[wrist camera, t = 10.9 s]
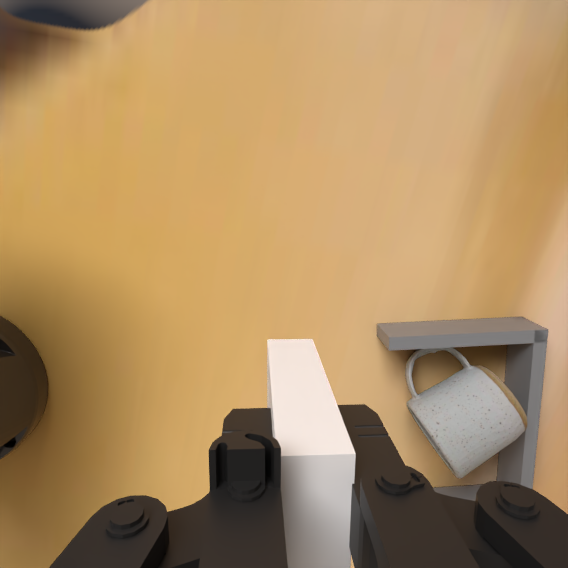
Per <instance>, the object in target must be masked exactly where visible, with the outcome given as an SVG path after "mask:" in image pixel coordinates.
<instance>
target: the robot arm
mask: <svg viewBox="0 0 568 568" xmlns="http://www.w3.org/2000/svg"><path fill="white" fill-rule="evenodd" d="M47 396H48V383H47V376H46V371H45V368H44V365H43V362H42V360H41V358H40V356H39V354H38V352H37V350H36V349H35V347H34V346H33V344H32V343H31V342H30V340H29V339H28V338H27V337H26V336H25V335H24V334H23V333H22V332H21V331H20V330H19V329H18V328H17V327H16V326H14V325H13V324H12V323H11V322H9V321H8V320H6V319H4V318H3V317H1V316H0V459H2V458H3V457H5V456H6V455H8V454H9V453H11V452H12V451H13V450H14V449H16V448H17V447H18V446H19V445H20V444H21V443H22V442H23V440H24V439H25V438H26V437H27V436H28V435H29V434H30V433H31V432H32V431H33V429H34V428H35V427H36V426H37V424H38V422H39V421H40V419H41V417H42V415H43V412H44V409H45V406H46V402H47ZM209 475H210V492H209V493H208V494H207V495H206V496H205V497H204V498H202V499H201V500H199V501H197V502H196V503H194V504H192V505H189V506H186V507H184V508H180V509H177V510H173V511H169V512H167V510H166V506H165V505H164V504H163V503H161V502H160V501H159V500H158V499H156V498H152V497H149V496H129V497H125V498H121V499H117V500H115V501H113V502H111V503H109V504H107V505H105V506H103V507H102V508H101V509H100V510H98V511H97V512H96V513H95V514H94V515H93V516H92V517H91V518H90V519H89V520H88V522H87V523H86V524H85V525H84V526H83V528H82V529H81V530H80V531H79V532H78V534H77V535H76V536H75V537H74V538H73V540H72V541H71V542H70V543H69V544H68V546H67V547H66V548H65V549H64V550H63V552H62V553H61V554H60V555H59V556H58V558H57V559H56V560H55V561H54V562H53V564H52V565H51V566H50V567H49V568H350V565H351V555H352V559H353V563H354V567H355V568H568V514H566V513H565V512H564V511H563V510H561V509H560V508H559V507H557V506H556V505H555V504H554V503H552V502H551V501H550V500H548V499H547V498H546V497H544V496H543V495H541V494H539V493H538V492H536V491H534V490H533V489H530V488H528V487H525V486H522V485H520V484H517V483H513V482H506V481H493V482H488V483H486V484H483V485H481V486H480V488H479V489H478V491H477V493H476V501H473V500H467V499H462V498H457V497H451V496H447V495H443V494H440V493H437V492H435V491H434V489H433V487H432V486H431V484H430V482H429V481H428V480H427V479H426V478H425V477H424V476H423V474H421V473H420V472H418V471H416V470H415V469H413V468H411V467H408V466H405V464H404V462H403V460H402V459H401V457H400V455H399V453H398V451H397V449H396V447H395V446H394V444H393V442H392V440H391V438H390V437H389V436H388V433H387V431H386V429H385V427H383V423H382V421H381V420H380V418H379V416H378V414H377V413H376V412H374V411H373V410H372V409H370V408H369V407H367V406H366V405H365V404H364V405H337V403H336V400H335V398H334V395H333V392H332V390H331V387H330V384H329V382H328V379H327V376H326V374H325V371H324V368H323V366H322V363H321V360H320V358H319V355H318V352H317V350H316V347H315V344H314V342H313V339H268V340H267V408H251V409H233V410H232V411H231V412H230V413H229V414H228V415H227V416H226V417H225V419H224V423H223V430H222V436H221V437H219V438H218V439H217V440H215V441H214V442H213V443H212V445H211V447H210V449H209Z"/></svg>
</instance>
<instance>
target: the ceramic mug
mask: <svg viewBox="0 0 568 568" xmlns="http://www.w3.org/2000/svg"><path fill="white" fill-rule="evenodd" d="M440 350H445V351H448V352H450V353H451V354H452V355H454V356H455V357H456V358H457V359H458V360H459V361H460V362H461V364H462V365H463V369H462V370H460V371H459V372H457V373H455V374H453V375H452V376H451V377H449V378H447V379H446V380H444V381H442V382H440V383H439V384H437V385H435V386H433V387H431V388H429V389H427V390H425V391H424V392H422V393H420V394H418V395H417V393H416V391H415V389H414V385H413V380H412V370H413V366H414V361H415V360H416V359H417V358H419V357H421V356H423V355H425V354H428V353H436V352H437V351H440ZM405 376H406V382H407V385H408V388H409V391H410V393H411V395H412V399H410V400H409V401H407V403H406V404H407V407H408V409H409V411H410V412H411V414H412V416H413V418H414V419H415V421H416V422H417V424H418V425H419V427H420V429H421V430H422V431H423V433H424V434H425V436H426V437H427V439H428V440H429V442H430V443H431V445H432V446H433V448H434V449H435V451H436V452H437V453H438V454H439V456H440V457H441V459H442V460H443V461H444V462H445V464H446V465H447V466H448V468H449V469H450V470H451V472H452V473H453V474H454V475H455V476H456V477H457V478H463V477H464V476H465V475H467V474H468V473H469V472H471V471H472V470H474V469H475V468H477V467H478V466H479V465H481V464H482V463H484V462H485V461H487V460H488V459H489V458H491V457H492V456H494V455H495V454H496V453H498V452H499V451H500V450H502V449H503V448H505V447H506V446H508V445H509V444H511V443H512V442H513V441H515V440H516V439H517V438H518V437H519V436H520V435H521V434H522V433H523V432H524V431H525V430H526V428H527V416H526V414H525V412H524V410H523V408H522V406H521V405H520V403H519V402H518V400H517V399H516V398H515V396H514V395H513V393H512V392H511V391H510V390H509V389H508V387H507V386H506V385H505V384H504V383H503V382H502V381H501V380H500V378H499V377H497V376H496V375H495V374H494V373H493V372H492V371H490V370H489V369H488V368H486V367H483V366H479V365H473V366H471V365H470V364H469V362H468V361H467V360H466V358H465V357H464V356H463V355H462V354H461V353H460V352H458V351H457V350H456V349H454V348H452V347H449V348H430V349H418V350H416V351H415V352H414V353H413V354H412V355H411V356H410V358H409V359H408V361H407V364H406V370H405Z"/></svg>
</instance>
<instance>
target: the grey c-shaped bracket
mask: <svg viewBox="0 0 568 568" xmlns="http://www.w3.org/2000/svg"><path fill="white" fill-rule="evenodd" d="M377 337H378V338H379V339H380V340H381V342H382V343H383V344H384V345H385V346H386V348H387V349H388V350H389V351H391V350H410V349H430V348H449V347H468V346H488V345H507V344H508V345H507V358H506V370H505V383H504V384H505V385H506V386H507V387H508V389H509V390H510V391H511V392H512V393H513V395H514V396H515V398H516V399H517V400H518V402H519V403H520V405H521V406H522V408H523V410H524V412H525V414H526V416H527V428H526V430H525V431H524V432H523V433H522V434H521V435H520V436H519V437H518V438H517V439H516V440H515V441H513V442H512V443H511V444H509V445H508V446H506V447H505V448H503V449H502V450H500V451H499V457H498V470H497V481H506V482H513V483H517V484H520V485H522V486H525V487H528V488H530V489H532V488H533V478H534V468H535V458H536V448H537V438H538V428H539V418H540V408H541V398H542V388H543V378H544V368H545V358H546V348H547V338H548V329H546V328H544V327H542V326H540V325H538V324H536V323H534V322H532V321H530V320H528V319H526V318H524V317H504V318H483V319H463V320H442V321H421V322H401V323H380V324H377ZM481 485H483V484H481ZM481 485H467V486H452V487H438V488H433V489H434V491H435V492H437V493H440V494H443V495H447V496H451V497H457V498H462V499H467V500H473V501H476V493H477V491H478V489H479V488H480V486H481Z"/></svg>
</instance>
